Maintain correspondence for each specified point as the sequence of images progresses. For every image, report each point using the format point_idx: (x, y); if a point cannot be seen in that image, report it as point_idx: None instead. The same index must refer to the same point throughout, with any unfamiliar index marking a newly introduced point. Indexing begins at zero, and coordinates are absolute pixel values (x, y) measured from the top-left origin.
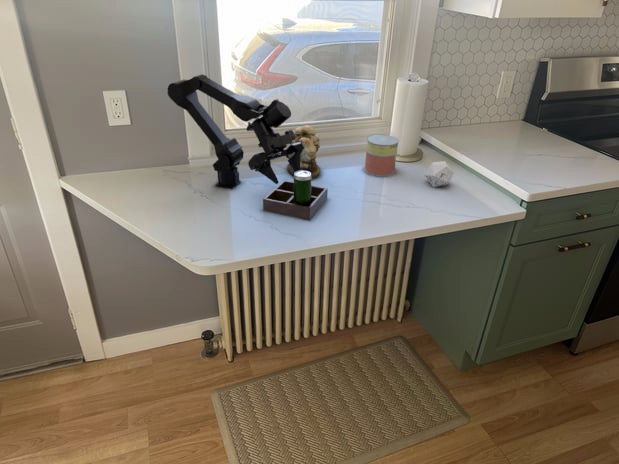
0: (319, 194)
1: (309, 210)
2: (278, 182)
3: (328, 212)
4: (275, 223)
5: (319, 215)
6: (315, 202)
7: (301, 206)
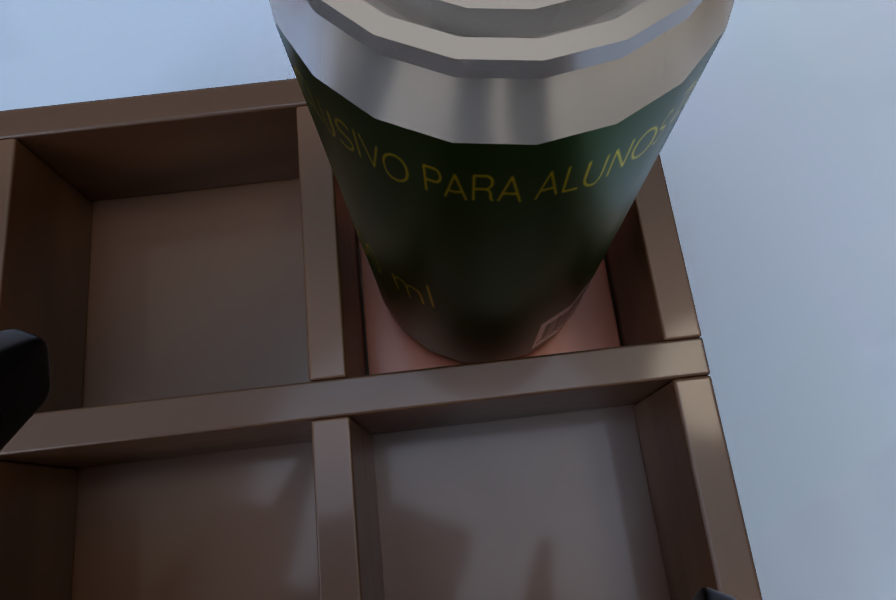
0: (69, 241)
1: None
2: (707, 588)
3: None
4: (876, 400)
5: None
6: None
7: None
